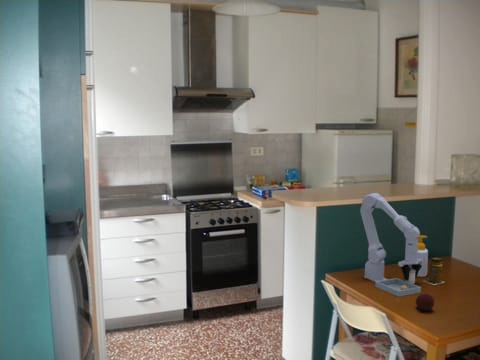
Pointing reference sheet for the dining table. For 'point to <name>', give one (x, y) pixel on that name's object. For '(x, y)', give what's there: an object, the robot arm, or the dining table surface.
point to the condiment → (435, 271)
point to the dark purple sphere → (425, 302)
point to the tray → (397, 287)
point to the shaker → (411, 276)
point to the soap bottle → (422, 257)
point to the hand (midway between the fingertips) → (410, 279)
